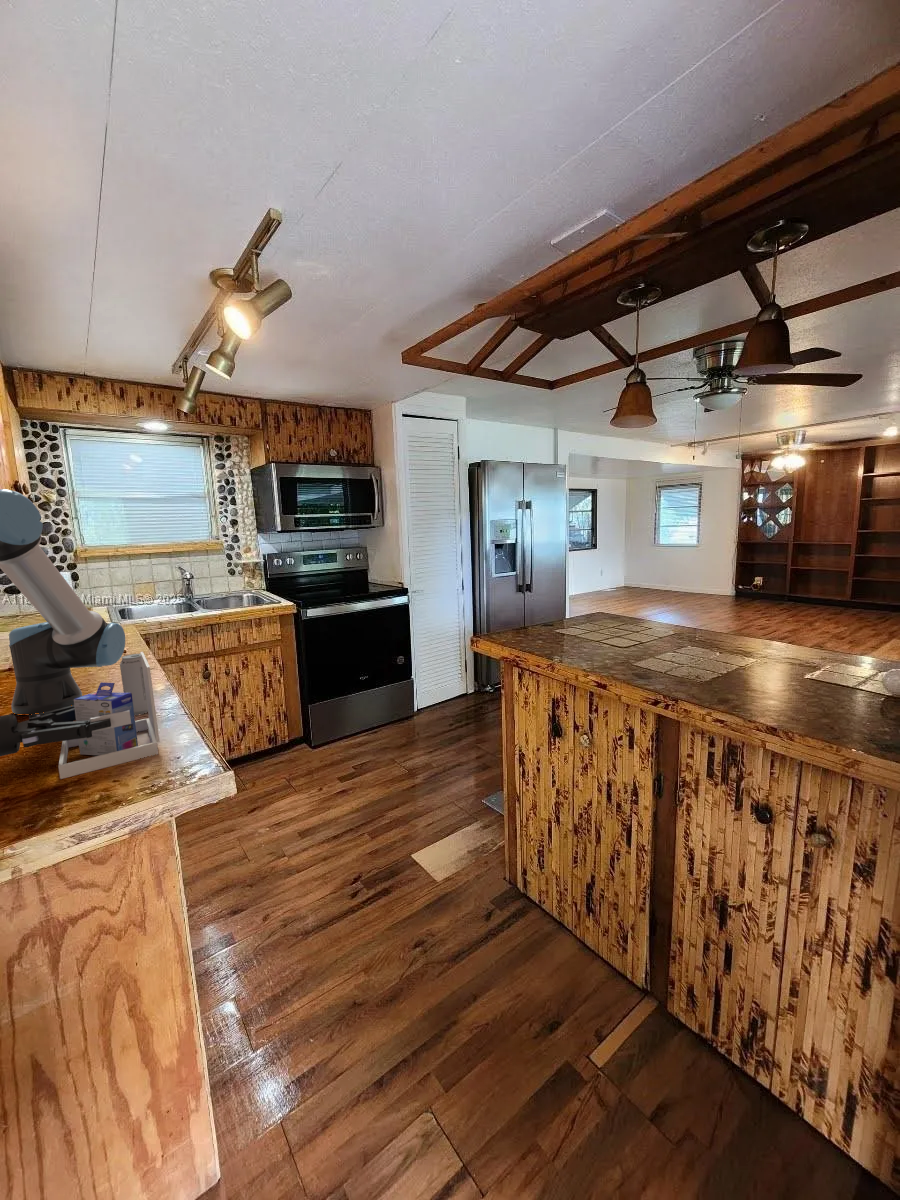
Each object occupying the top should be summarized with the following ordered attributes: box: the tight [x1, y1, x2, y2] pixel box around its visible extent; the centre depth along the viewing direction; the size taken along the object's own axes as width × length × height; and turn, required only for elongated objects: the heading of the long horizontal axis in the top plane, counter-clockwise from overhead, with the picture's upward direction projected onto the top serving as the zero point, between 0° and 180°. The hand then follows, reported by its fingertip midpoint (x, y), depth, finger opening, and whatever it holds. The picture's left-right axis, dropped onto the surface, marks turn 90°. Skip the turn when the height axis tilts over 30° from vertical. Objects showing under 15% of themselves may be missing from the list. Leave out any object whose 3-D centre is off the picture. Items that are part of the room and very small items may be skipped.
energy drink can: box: [119, 653, 149, 716], centre depth 126 cm, size 6×6×15 cm
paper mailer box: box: [58, 651, 160, 780], centre depth 103 cm, size 18×16×18 cm
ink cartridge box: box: [74, 681, 139, 756], centre depth 103 cm, size 10×6×14 cm, turn 78°
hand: (128, 709), depth 105 cm, fingers closed on ink cartridge box, 10 cm apart
